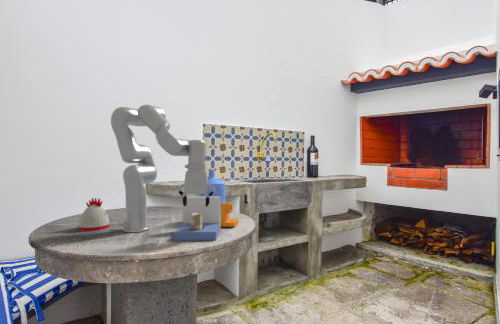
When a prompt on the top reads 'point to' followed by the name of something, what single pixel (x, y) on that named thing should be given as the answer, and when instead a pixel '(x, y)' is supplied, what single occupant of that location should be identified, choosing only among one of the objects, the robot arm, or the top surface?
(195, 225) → the tan wooden pillar
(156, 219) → the top surface
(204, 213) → the blue base grey panel
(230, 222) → the bracket
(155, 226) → the top surface
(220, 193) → the water jug
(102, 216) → the cream red beanie hat
